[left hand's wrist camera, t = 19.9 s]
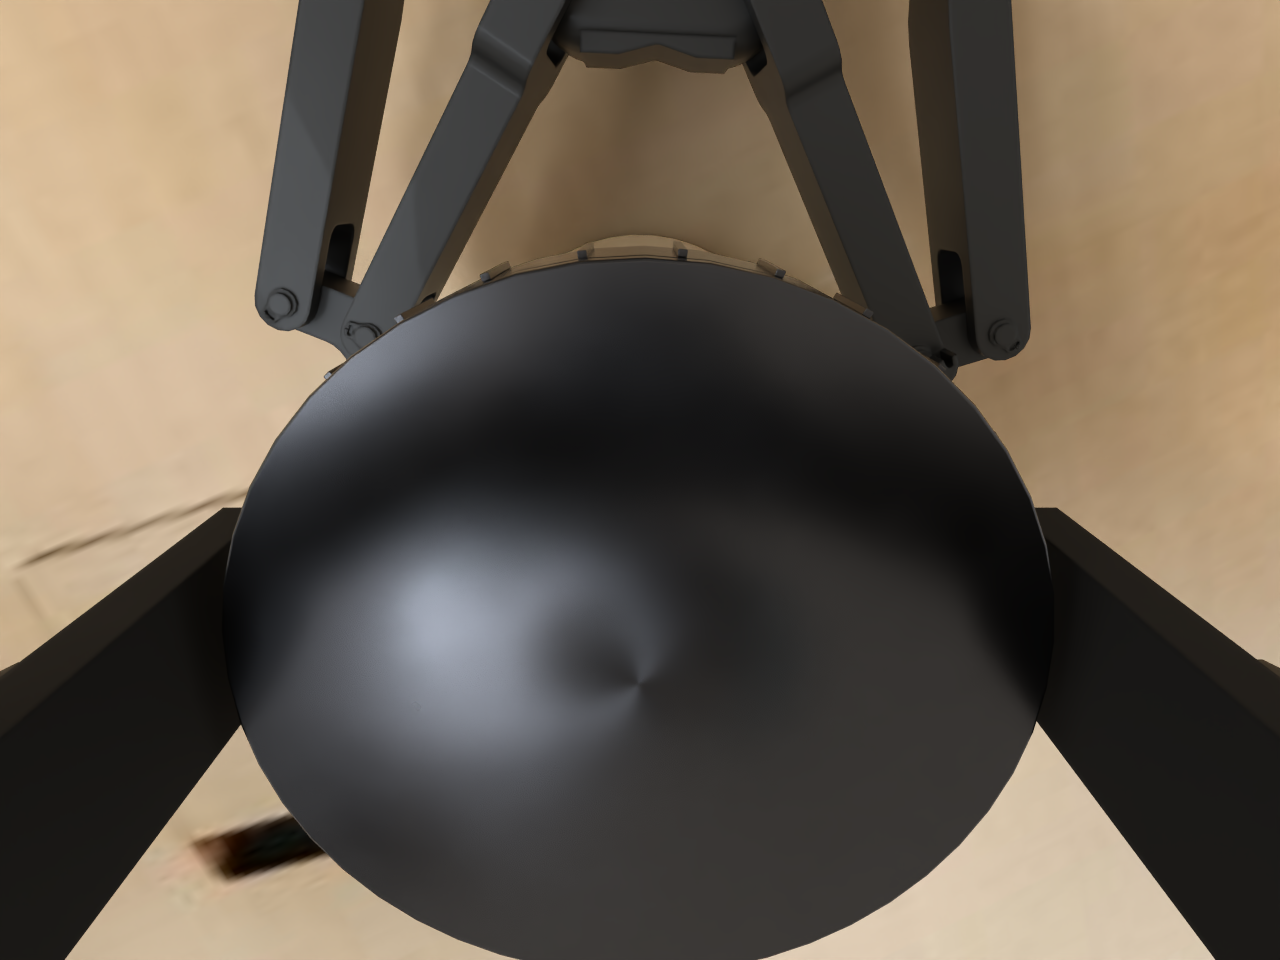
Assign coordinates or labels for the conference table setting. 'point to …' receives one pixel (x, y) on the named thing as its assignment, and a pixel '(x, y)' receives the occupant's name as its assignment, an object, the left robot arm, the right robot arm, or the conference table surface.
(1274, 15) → the conference table surface
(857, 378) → the lid
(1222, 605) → the conference table surface
